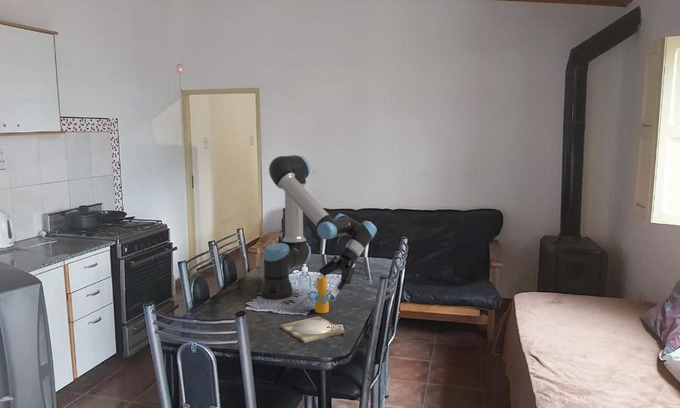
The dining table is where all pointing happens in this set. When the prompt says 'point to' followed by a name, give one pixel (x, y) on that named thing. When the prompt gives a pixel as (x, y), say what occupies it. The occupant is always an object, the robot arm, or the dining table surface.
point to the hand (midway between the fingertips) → (323, 291)
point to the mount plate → (311, 329)
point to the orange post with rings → (321, 296)
